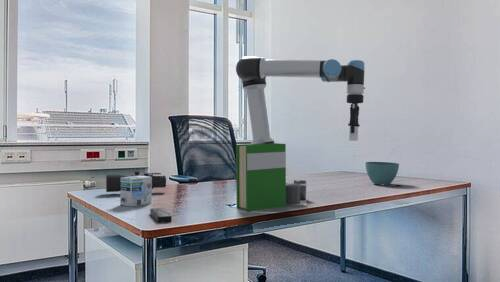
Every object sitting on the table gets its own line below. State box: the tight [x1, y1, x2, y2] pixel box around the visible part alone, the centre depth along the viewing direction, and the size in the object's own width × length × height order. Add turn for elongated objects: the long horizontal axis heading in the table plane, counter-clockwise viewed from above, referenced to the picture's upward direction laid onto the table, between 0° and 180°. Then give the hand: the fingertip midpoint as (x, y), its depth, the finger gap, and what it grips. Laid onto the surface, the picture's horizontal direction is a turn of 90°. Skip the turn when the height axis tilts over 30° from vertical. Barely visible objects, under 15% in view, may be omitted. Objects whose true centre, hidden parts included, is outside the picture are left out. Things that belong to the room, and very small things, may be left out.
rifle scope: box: [105, 171, 167, 193], centre depth 186 cm, size 10×26×10 cm, turn 110°
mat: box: [286, 199, 307, 206], centre depth 168 cm, size 12×16×1 cm
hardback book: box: [235, 142, 287, 213], centre depth 153 cm, size 18×7×24 cm, turn 124°
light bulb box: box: [119, 174, 153, 208], centre depth 158 cm, size 11×7×11 cm, turn 148°
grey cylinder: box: [286, 182, 300, 206], centre depth 164 cm, size 9×9×8 cm
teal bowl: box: [364, 161, 400, 186], centre depth 230 cm, size 18×18×12 cm
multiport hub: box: [149, 207, 173, 224], centre depth 134 cm, size 4×14×2 cm, turn 23°
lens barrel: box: [293, 179, 307, 201], centre depth 172 cm, size 5×5×8 cm
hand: (353, 140), depth 188 cm, fingers open, 13 cm apart
